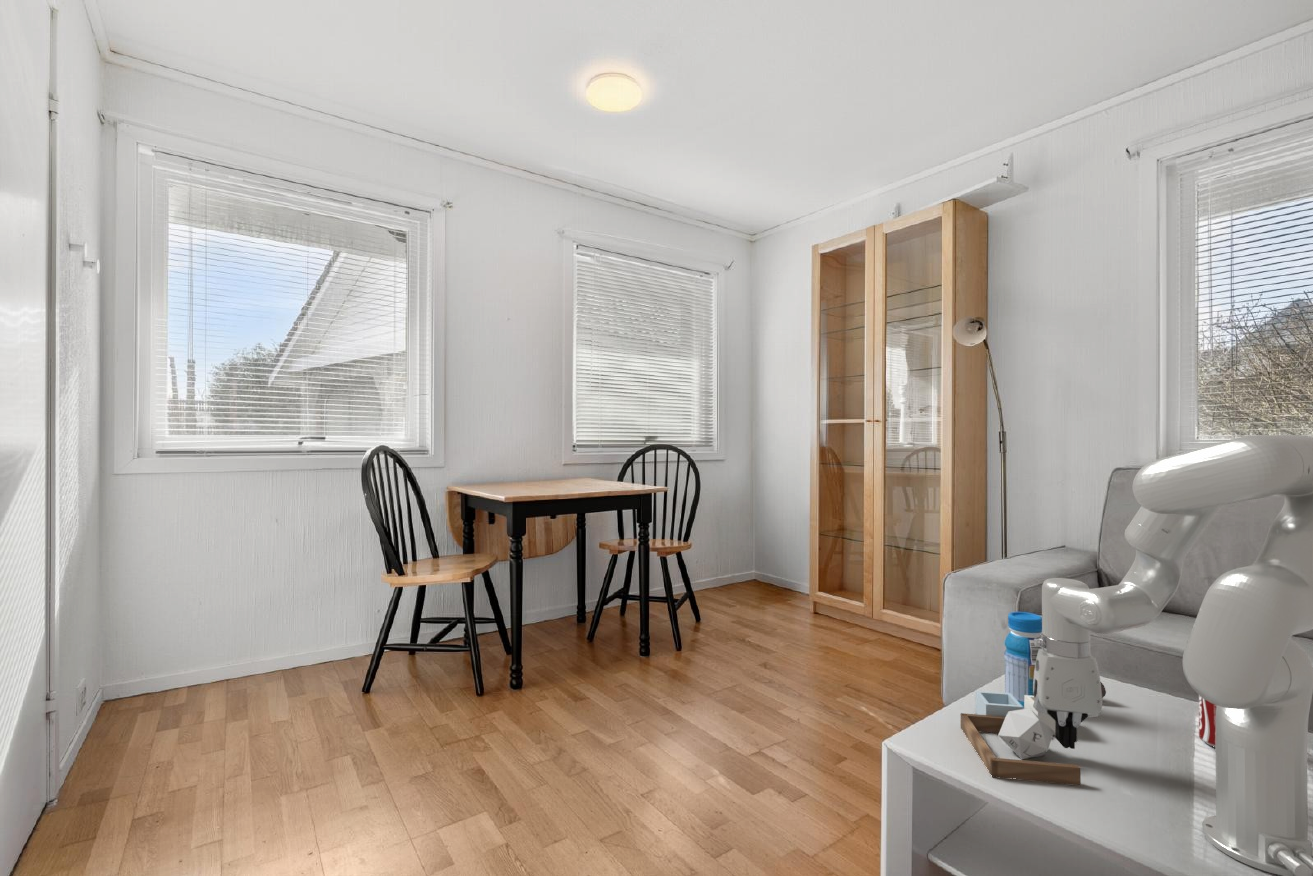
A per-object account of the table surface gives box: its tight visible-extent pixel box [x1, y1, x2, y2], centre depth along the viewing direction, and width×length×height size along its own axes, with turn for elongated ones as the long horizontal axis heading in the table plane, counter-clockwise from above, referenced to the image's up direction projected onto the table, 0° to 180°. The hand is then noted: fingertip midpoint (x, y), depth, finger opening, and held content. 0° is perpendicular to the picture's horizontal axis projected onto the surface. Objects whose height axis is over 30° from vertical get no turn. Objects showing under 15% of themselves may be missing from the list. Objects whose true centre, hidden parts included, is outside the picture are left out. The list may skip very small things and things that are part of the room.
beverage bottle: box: [1003, 611, 1042, 709], centre depth 138 cm, size 8×8×20 cm
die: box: [997, 708, 1054, 760], centre depth 117 cm, size 8×9×10 cm
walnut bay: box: [960, 712, 1082, 787], centre depth 117 cm, size 19×14×3 cm
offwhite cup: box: [1024, 695, 1067, 736], centre depth 127 cm, size 7×7×5 cm
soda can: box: [1198, 695, 1217, 748], centre depth 120 cm, size 7×7×12 cm
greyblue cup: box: [974, 690, 1023, 717], centre depth 129 cm, size 7×7×5 cm
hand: (1066, 744), depth 115 cm, fingers closed
